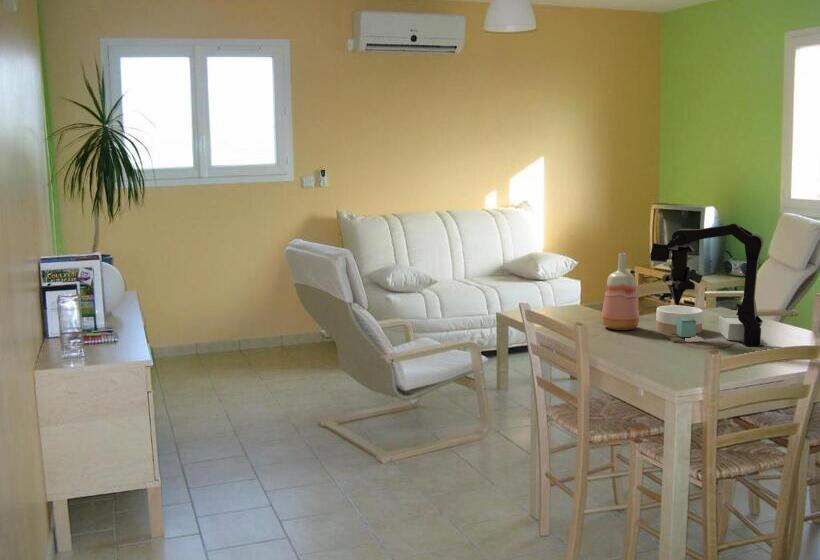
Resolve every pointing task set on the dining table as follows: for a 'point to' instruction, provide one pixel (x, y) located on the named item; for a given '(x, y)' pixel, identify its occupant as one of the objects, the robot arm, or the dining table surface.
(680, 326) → the teal tilted box
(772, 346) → the dining table surface
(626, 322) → the vase
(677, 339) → the post block
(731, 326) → the skincare box
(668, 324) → the bowl
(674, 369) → the dining table surface
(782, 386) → the dining table surface
